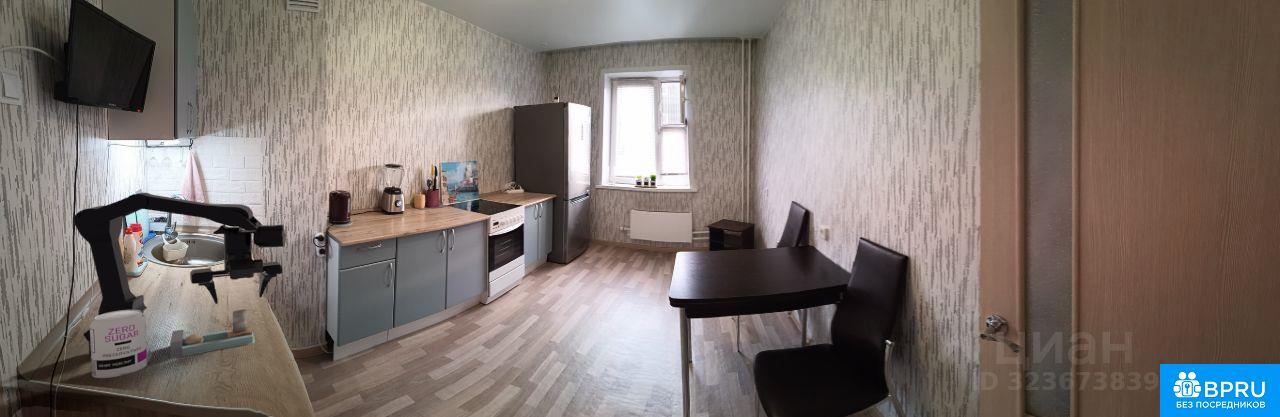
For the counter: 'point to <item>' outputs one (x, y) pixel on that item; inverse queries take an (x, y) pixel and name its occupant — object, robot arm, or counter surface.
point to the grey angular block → (177, 343)
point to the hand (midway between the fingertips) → (239, 300)
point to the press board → (216, 343)
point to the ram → (239, 325)
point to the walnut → (193, 339)
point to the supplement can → (118, 343)
